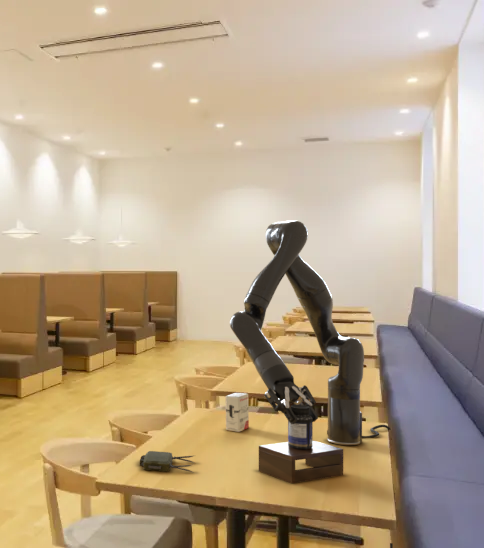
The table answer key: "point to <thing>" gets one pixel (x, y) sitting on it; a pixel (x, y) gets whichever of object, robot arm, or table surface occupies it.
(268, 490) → the table surface
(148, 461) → the landmine
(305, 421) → the pill bottle
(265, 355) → the robot arm
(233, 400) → the ink box
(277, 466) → the shelf
